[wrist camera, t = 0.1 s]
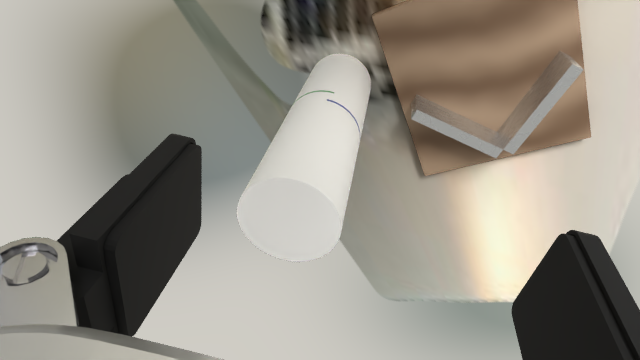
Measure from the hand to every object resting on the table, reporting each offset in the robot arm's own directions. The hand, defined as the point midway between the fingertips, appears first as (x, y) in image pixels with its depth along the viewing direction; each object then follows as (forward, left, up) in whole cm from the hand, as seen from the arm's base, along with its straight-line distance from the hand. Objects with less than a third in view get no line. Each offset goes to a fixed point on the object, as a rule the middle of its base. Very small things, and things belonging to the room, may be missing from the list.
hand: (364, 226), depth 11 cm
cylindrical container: (+8, -9, -38) cm, 39 cm away
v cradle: (+12, +6, -37) cm, 40 cm away
